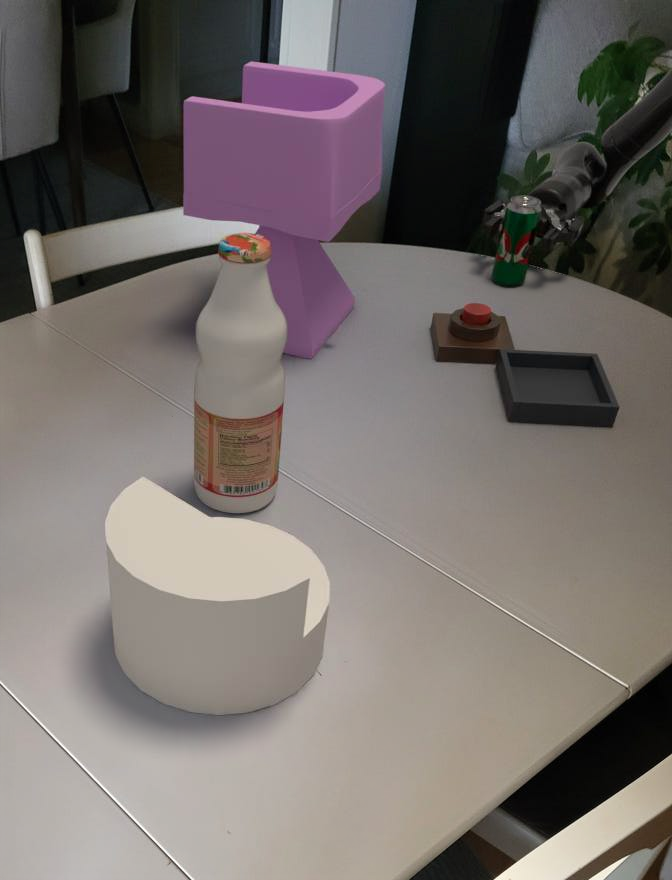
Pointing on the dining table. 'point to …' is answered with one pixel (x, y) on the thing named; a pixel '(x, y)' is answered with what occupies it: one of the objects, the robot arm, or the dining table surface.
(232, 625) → the notched white cylinder
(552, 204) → the robot arm
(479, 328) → the block
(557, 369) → the tray
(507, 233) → the soda can
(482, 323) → the button
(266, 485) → the fruit juice
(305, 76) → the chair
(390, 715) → the dining table surface
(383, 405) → the dining table surface
